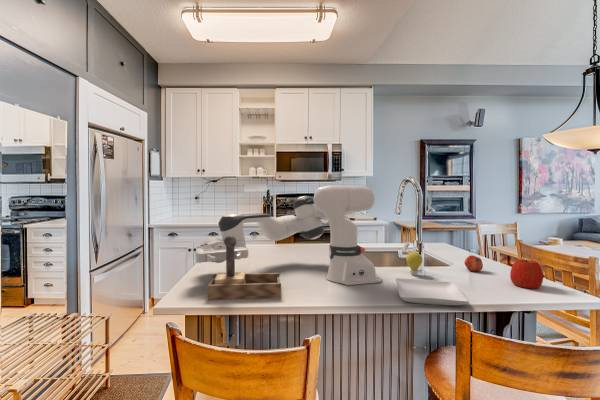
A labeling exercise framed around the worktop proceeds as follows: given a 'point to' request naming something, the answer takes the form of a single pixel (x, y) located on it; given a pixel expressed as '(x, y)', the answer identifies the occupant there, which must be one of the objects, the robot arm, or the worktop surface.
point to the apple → (526, 274)
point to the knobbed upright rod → (230, 265)
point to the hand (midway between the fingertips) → (226, 258)
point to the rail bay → (247, 287)
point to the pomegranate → (473, 263)
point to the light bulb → (414, 262)
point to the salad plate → (430, 292)
